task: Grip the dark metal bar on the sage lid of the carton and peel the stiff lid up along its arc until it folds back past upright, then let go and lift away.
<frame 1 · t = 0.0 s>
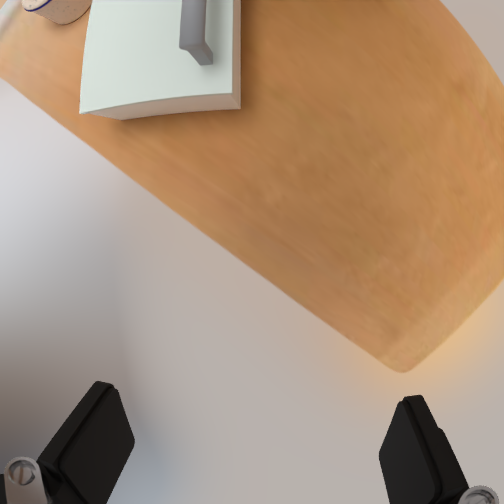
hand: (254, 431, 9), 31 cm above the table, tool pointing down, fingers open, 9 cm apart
carton lid: (142, 10, 21), point 13 cm above the table, hinge at 0.0°
teacup with lid: (71, 1, 31), on the table
carton: (178, 49, 33), on the table
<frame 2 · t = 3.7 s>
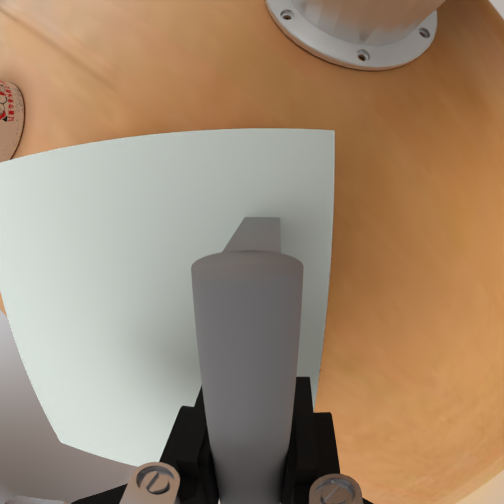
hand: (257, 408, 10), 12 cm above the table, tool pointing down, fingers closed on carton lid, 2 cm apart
carton lid: (104, 394, 10), point 13 cm above the table, hinge at 0.0°, touching gripper
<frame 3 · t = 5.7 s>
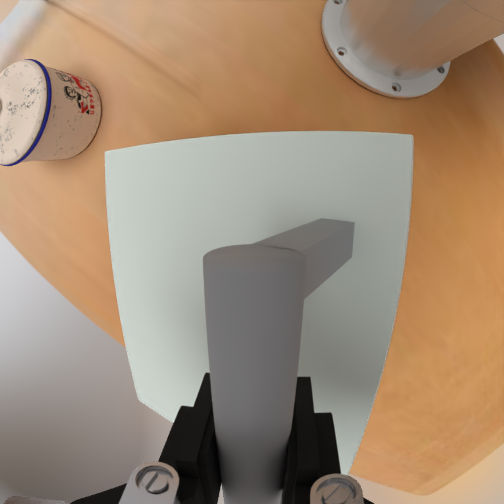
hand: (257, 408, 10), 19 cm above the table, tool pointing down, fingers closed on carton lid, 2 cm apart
carton lid: (171, 359, 13), point 16 cm above the table, hinge at 28.1°, touching gripper
teacup with lid: (63, 111, 26), on the table
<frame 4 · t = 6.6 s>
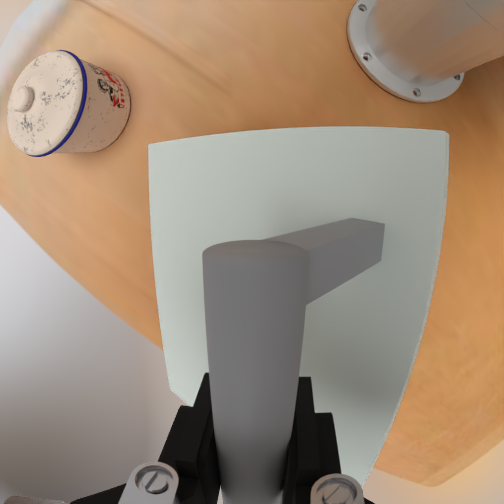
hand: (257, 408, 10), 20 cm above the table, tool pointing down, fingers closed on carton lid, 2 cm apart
carton lid: (196, 351, 13), point 17 cm above the table, hinge at 38.8°, touching gripper
teacup with lid: (89, 104, 27), on the table
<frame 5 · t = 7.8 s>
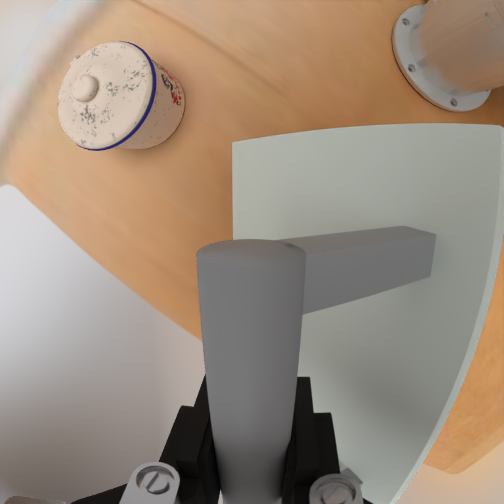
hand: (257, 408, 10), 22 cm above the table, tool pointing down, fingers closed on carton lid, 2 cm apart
carton lid: (247, 347, 14), point 18 cm above the table, hinge at 59.7°, touching gripper
teacup with lid: (137, 100, 28), on the table
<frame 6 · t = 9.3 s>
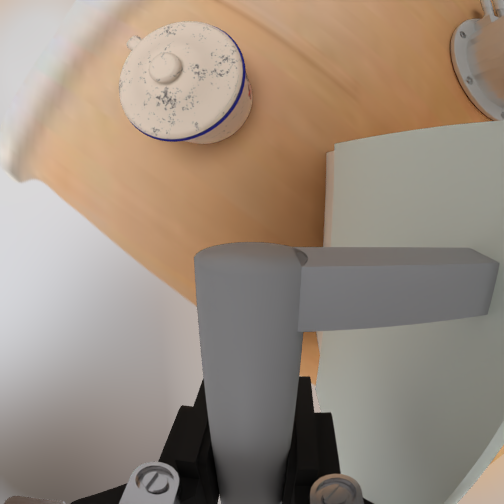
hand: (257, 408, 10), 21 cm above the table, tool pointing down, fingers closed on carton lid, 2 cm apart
carton lid: (309, 355, 13), point 18 cm above the table, hinge at 84.4°, touching gripper
teacup with lid: (196, 91, 27), on the table
carton: (400, 250, 29), on the table
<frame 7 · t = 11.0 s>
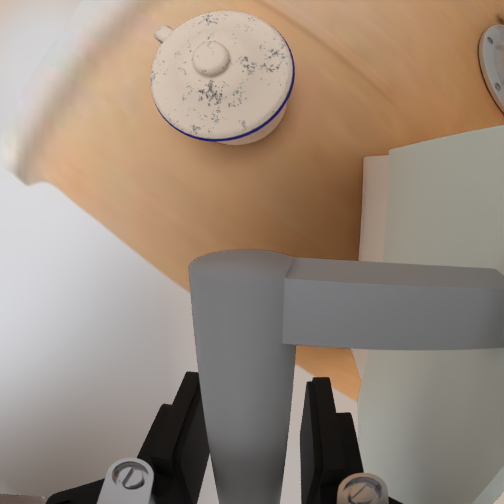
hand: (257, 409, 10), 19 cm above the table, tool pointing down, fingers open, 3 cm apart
carton lid: (340, 366, 12), point 17 cm above the table, hinge at 98.4°, touching gripper
teacup with lid: (225, 88, 25), on the table
carton: (433, 257, 27), on the table
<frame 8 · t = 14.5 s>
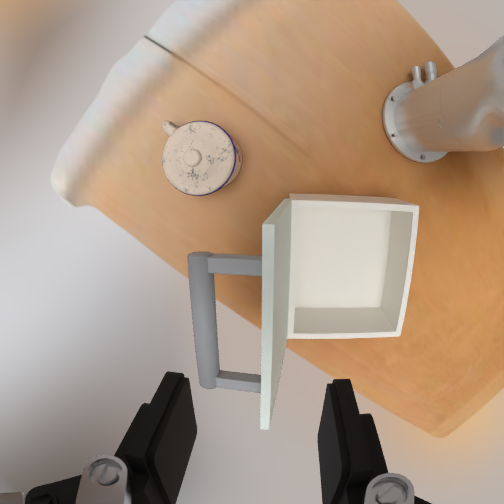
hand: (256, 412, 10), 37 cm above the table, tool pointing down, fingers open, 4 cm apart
carton lid: (247, 300, 31), point 17 cm above the table, hinge at 96.0°
teacup with lid: (205, 152, 44), on the table
carton: (340, 255, 46), on the table
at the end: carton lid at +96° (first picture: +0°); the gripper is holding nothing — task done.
